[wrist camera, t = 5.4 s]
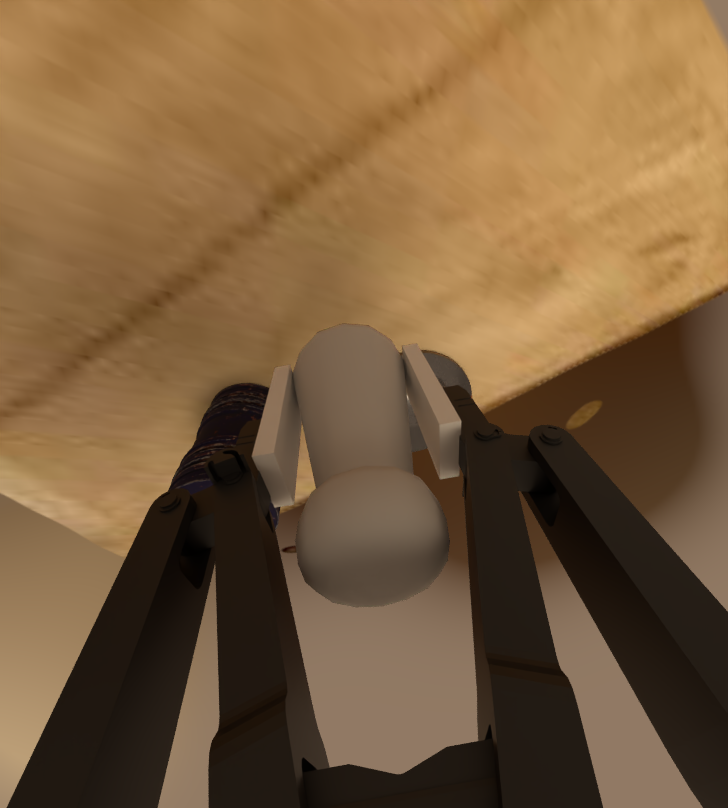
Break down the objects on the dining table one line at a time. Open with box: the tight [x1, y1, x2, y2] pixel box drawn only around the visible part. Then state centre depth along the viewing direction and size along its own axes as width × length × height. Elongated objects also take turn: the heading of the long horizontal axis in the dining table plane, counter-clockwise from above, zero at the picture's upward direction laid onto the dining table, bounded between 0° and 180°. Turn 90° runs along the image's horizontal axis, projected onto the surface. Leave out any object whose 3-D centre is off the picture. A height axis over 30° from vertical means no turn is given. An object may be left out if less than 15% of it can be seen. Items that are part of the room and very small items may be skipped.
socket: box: [399, 350, 472, 452], centre depth 41 cm, size 15×15×3 cm
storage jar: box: [168, 383, 280, 530], centre depth 35 cm, size 10×10×15 cm
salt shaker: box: [293, 324, 450, 607], centre depth 14 cm, size 6×6×13 cm
